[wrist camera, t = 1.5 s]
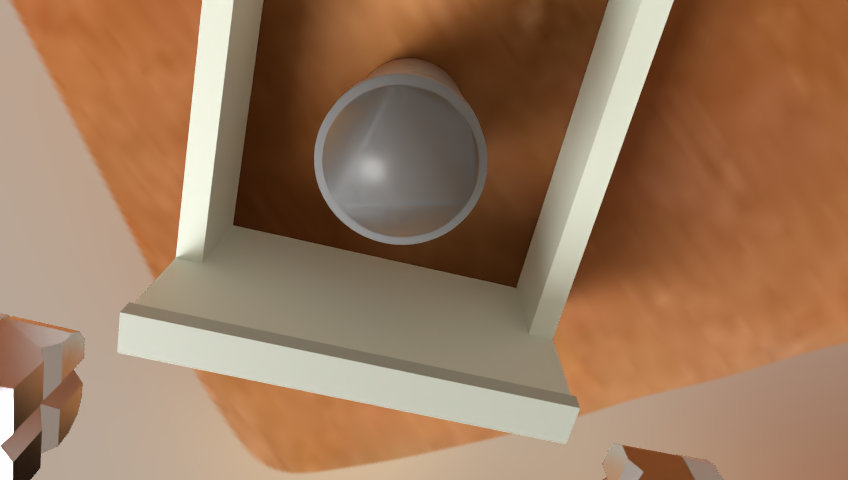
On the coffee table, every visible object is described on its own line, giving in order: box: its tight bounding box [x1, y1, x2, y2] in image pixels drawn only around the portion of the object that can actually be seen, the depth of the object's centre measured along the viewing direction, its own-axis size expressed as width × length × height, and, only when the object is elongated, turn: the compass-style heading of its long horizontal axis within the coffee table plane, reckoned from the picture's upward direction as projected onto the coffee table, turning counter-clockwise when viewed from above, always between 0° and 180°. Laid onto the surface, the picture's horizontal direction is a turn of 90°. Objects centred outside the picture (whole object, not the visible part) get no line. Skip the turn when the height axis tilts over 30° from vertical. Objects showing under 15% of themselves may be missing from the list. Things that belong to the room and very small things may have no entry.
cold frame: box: [117, 0, 674, 444], centre depth 27 cm, size 18×18×11 cm
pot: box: [314, 58, 488, 245], centre depth 28 cm, size 6×6×9 cm
